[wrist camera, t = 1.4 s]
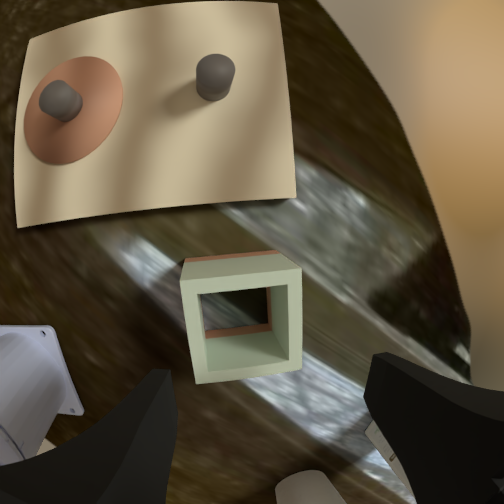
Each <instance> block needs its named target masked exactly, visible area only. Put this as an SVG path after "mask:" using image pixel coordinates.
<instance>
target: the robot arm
mask: <svg viewBox="0 0 504 504" xmlns="http://www.w3.org/2000/svg"><path fill="white" fill-rule="evenodd" d="M42 331H44V332H45V334H46V335H44V334H43V332H42ZM363 398H364V400H365V402H366V405H367V407H368V410H369V412H370V414H371V416H372V418H373V420H374V422H375V423H376V425H377V426H378V428H379V430H380V431H381V433H382V434H383V436H384V437H385V439H386V441H387V442H388V444H389V445H390V447H391V448H392V450H393V452H394V453H395V455H396V456H397V458H398V460H399V462H400V463H401V465H402V468H403V470H404V472H405V474H406V476H407V479H408V481H409V483H410V486H411V489H412V491H413V494H414V497H415V499H416V502H417V504H504V392H503V391H496V390H489V389H484V388H480V387H476V386H472V385H468V384H464V383H461V382H458V381H455V380H453V379H450V378H447V377H444V376H442V375H439V374H437V373H435V372H432V371H430V370H428V369H425V368H423V367H421V366H419V365H416V364H414V363H412V362H410V361H408V360H405V359H403V358H401V357H398V356H396V355H394V354H391V353H388V352H385V353H379V354H374V355H373V358H372V362H371V367H370V371H369V375H368V380H367V384H366V388H365V392H364V396H363ZM73 409H74V410H73ZM57 413H61V414H70V415H83V413H84V408H83V406H82V404H81V402H80V399H79V397H78V395H77V392H76V390H75V387H74V385H73V382H72V380H71V377H70V374H69V372H68V369H67V366H66V363H65V361H64V358H63V355H62V352H61V349H60V346H59V343H58V339H57V336H56V333H55V330H54V329H53V328H52V327H51V326H48V325H43V326H28V325H0V504H165V502H166V490H167V484H168V478H169V473H170V468H171V462H172V457H173V452H174V447H175V441H176V434H177V419H178V411H177V406H176V401H175V395H174V390H173V384H172V378H171V371H170V369H152V370H151V371H150V372H149V373H148V374H147V375H146V376H145V377H144V378H143V379H142V381H141V382H140V383H139V384H138V385H137V386H136V387H135V388H134V389H133V390H132V391H131V392H130V393H129V394H128V395H127V396H126V397H125V398H124V399H123V400H122V401H121V402H120V403H119V404H118V405H117V406H116V407H115V408H113V409H112V410H111V411H110V412H109V413H108V414H107V415H105V416H104V417H103V418H102V419H101V420H99V421H98V422H97V423H95V424H94V425H93V426H91V427H90V428H88V429H87V430H85V431H84V432H83V433H81V434H79V435H78V436H76V437H74V438H73V439H71V440H69V441H67V442H65V443H63V444H61V445H60V446H58V447H56V448H54V449H52V450H49V451H47V452H45V453H42V454H40V455H37V456H36V454H37V452H38V450H39V448H40V446H41V444H42V442H43V440H44V438H45V436H46V434H47V432H48V430H49V428H50V426H51V424H52V422H53V420H54V418H55V416H56V415H57Z"/></svg>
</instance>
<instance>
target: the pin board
mask: <svg viewBox="0 0 504 504" xmlns="http://www.w3.org/2000/svg"><path fill="white" fill-rule="evenodd" d="M14 187H15V206H16V218H17V228H21V227H27V226H33V225H38V224H44V223H50V222H57V221H63V220H70V219H76V218H83V217H90V216H97V215H105V214H112V213H120V212H128V211H137V210H146V209H155V208H164V207H174V206H184V205H195V204H207V203H219V202H232V201H246V200H262V199H280V198H296V183H295V167H294V153H293V140H292V127H291V115H290V104H289V94H288V84H287V75H286V65H285V57H284V48H283V40H282V32H281V25H280V18H279V10H278V4H276V3H264V2H245V1H206V2H188V3H176V4H166V5H158V6H151V7H144V8H138V9H132V10H127V11H122V12H117V13H112V14H108V15H104V16H100V17H96V18H92V19H88V20H85V21H81V22H78V23H74V24H71V25H68V26H65V27H62V28H59V29H56V30H53V31H51V32H48V33H45V34H43V35H40V36H38V37H35V38H33V39H30V41H29V45H28V49H27V53H26V58H25V62H24V67H23V73H22V78H21V84H20V91H19V98H18V106H17V116H16V127H15V145H14Z"/></svg>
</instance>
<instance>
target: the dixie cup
mask: <svg viewBox="0 0 504 504" xmlns="http://www.w3.org/2000/svg"><path fill="white" fill-rule="evenodd" d="M275 493H276V500H277V504H346V502H345V501H344V500H343V498H342V497H341V496H340V495H339V493H338V492H337V490H336V489H335V488H334V486H333V485H332V484H331V482H330V481H329V480H328V478H327V477H326V475H325V474H324V473H323V472H321V471H318V470H307V471H302V472H298V473H295V474H293V475H290V476H288V477H286V478H285V479H283V480H282V481H281V482H279V483H278V485H277V486H276V488H275Z"/></svg>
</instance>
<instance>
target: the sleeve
mask: <svg viewBox="0 0 504 504" xmlns="http://www.w3.org/2000/svg"><path fill="white" fill-rule="evenodd" d="M180 287H181V295H182V302H183V309H184V316H185V322H186V329H187V335H188V341H189V347H190V353H191V358H192V364H193V369H194V375H195V380H196V384H202V383H212V382H221V381H230V380H238V379H246V378H253V377H259V376H266V375H272V374H278V373H284V372H289V371H295V370H300V369H302V268H301V267H299V266H298V265H296V264H295V263H293V262H292V261H290V260H289V259H288V258H286V257H285V256H283V255H282V254H280V253H279V252H278V251H276V250H270V251H259V252H248V253H238V254H227V255H216V256H206V257H195V258H185V261H184V265H183V269H182V273H181V277H180ZM261 287H266V291H267V311H268V323H266V324H259V325H251V326H243V327H235V328H226V329H217V330H207V331H205V326H204V319H203V311H202V303H201V295H200V294H204V293H214V292H224V291H234V290H243V289H252V288H261Z"/></svg>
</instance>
